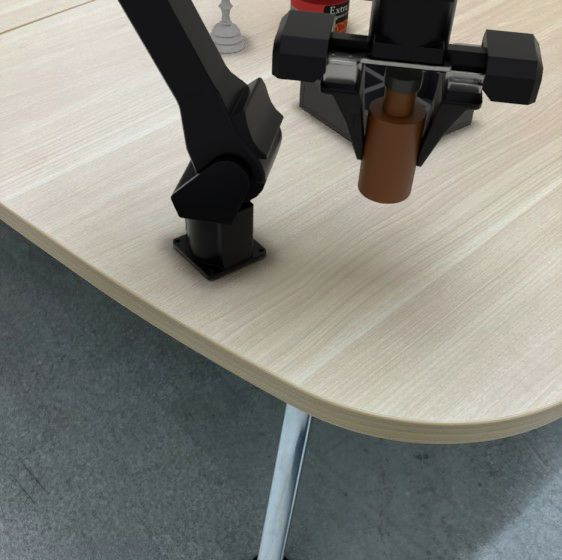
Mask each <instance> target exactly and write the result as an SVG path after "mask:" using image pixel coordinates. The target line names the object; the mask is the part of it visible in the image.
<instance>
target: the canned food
mask: <svg viewBox="0 0 562 560" xmlns="http://www.w3.org/2000/svg"><path fill="white" fill-rule="evenodd" d="M350 3H351V0H290V4H289V10H299V11H309V12H319V13H329V14H335V18H336V22H335V32H339V33H346V31H347V29H348V24H349V23H348V22H349V14H350Z"/></svg>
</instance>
